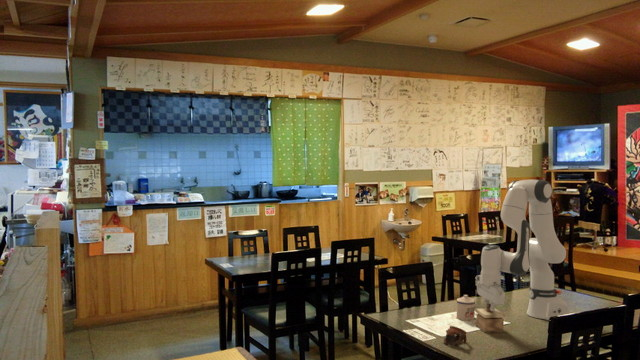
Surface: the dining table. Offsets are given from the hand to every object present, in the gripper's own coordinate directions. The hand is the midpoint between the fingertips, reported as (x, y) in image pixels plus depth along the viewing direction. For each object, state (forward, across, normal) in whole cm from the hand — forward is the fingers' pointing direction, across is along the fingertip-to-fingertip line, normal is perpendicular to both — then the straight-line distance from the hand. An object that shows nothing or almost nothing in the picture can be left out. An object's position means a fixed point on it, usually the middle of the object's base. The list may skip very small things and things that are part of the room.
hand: (489, 309), depth 234 cm
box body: (+9, 0, 0) cm, 9 cm away
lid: (+2, 0, 0) cm, 2 cm away
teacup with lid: (+9, +18, +3) cm, 21 cm away
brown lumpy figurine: (+10, -17, +24) cm, 31 cm away
